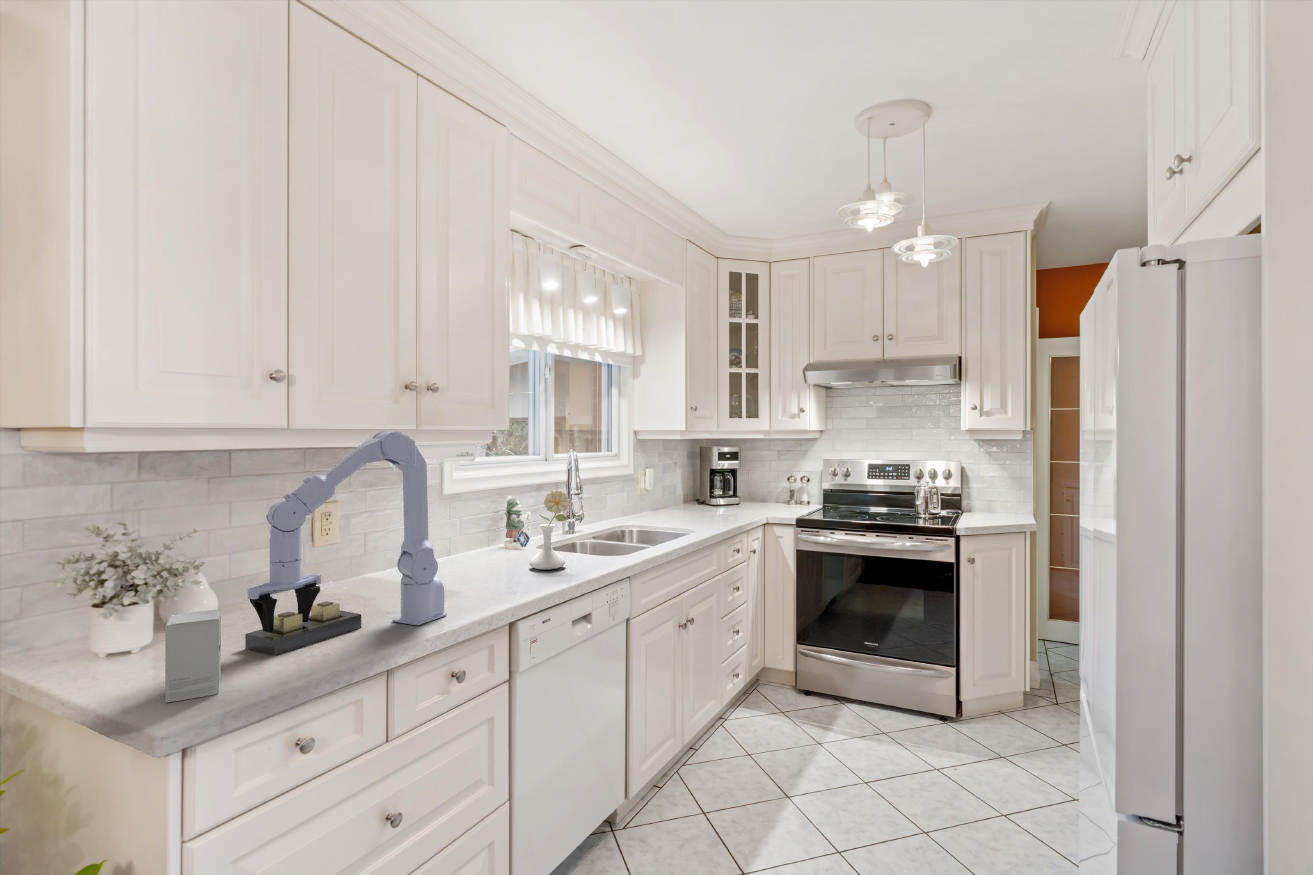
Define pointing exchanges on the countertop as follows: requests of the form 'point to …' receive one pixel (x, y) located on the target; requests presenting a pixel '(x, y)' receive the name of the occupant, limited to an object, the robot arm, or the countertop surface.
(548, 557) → the flower in vase
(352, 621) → the rail
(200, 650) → the supplement box
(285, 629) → the block
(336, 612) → the seated nut
